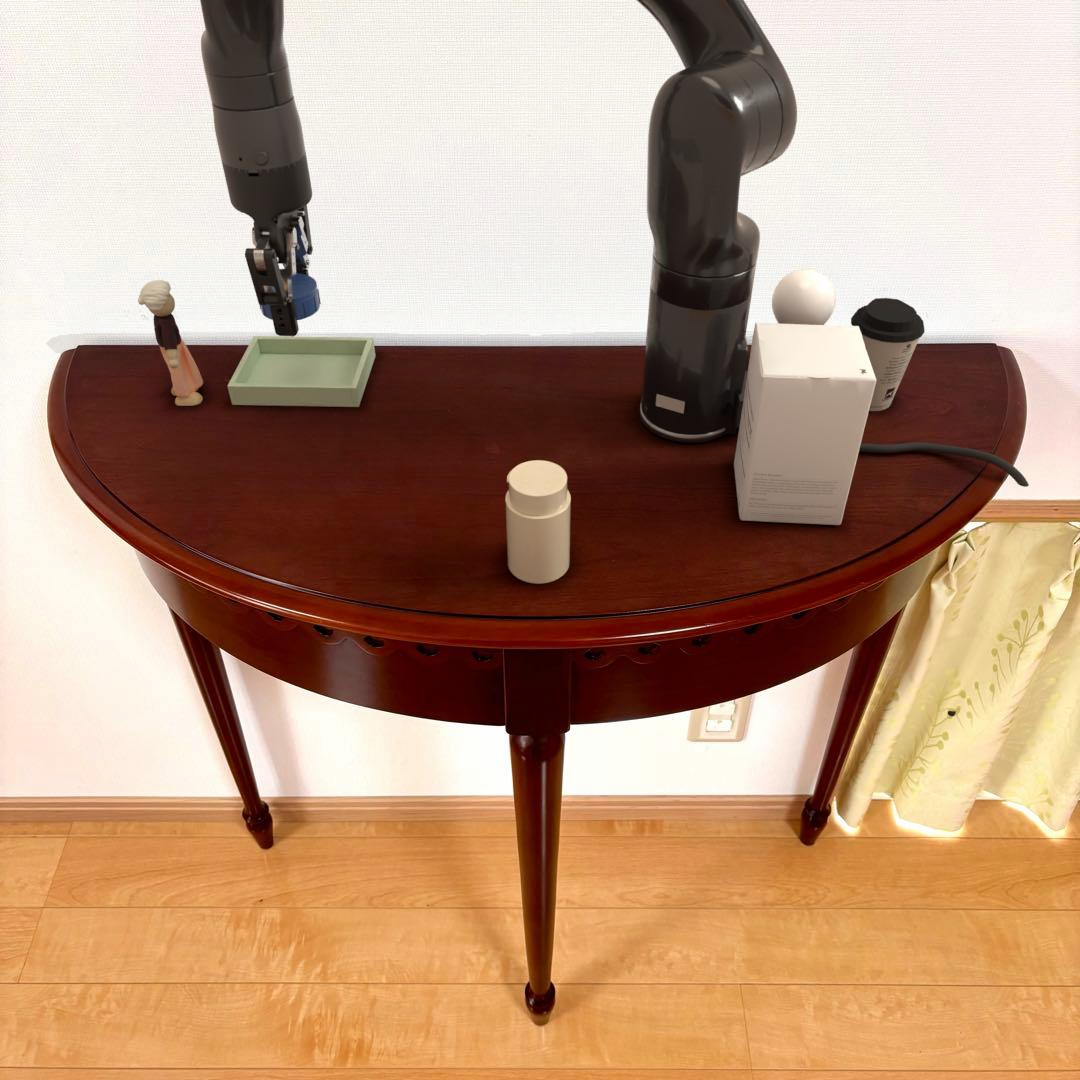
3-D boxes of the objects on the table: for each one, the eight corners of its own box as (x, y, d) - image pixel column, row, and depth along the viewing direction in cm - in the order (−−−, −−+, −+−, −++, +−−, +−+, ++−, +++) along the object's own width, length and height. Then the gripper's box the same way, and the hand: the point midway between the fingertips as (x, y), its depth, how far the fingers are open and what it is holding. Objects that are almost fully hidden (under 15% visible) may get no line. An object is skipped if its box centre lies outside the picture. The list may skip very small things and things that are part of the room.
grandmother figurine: (217, 403, 99) (186, 290, 91) (180, 415, 97) (146, 301, 89) (192, 371, 104) (160, 261, 95) (157, 382, 102) (121, 271, 94)
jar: (569, 542, 82) (571, 457, 76) (569, 584, 78) (571, 498, 73) (509, 541, 83) (506, 457, 77) (506, 583, 79) (502, 498, 73)
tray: (375, 356, 106) (373, 337, 105) (359, 407, 98) (356, 388, 97) (257, 354, 106) (253, 335, 105) (232, 405, 99) (227, 386, 97)
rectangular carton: (829, 466, 90) (863, 323, 80) (842, 527, 84) (881, 379, 74) (731, 461, 91) (753, 318, 81) (736, 521, 84) (761, 374, 74)
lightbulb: (749, 359, 105) (764, 265, 98) (798, 347, 107) (816, 254, 100) (782, 388, 101) (800, 291, 93) (832, 375, 102) (854, 279, 95)
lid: (254, 320, 95) (249, 298, 93) (270, 293, 99) (266, 271, 98) (312, 322, 95) (308, 300, 93) (325, 295, 99) (322, 273, 98)
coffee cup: (909, 419, 96) (936, 330, 89) (838, 416, 97) (859, 327, 90) (896, 382, 101) (920, 295, 95) (829, 379, 102) (848, 292, 95)
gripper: (243, 123, 92) (276, 285, 103) (197, 180, 82) (239, 354, 93) (321, 124, 92) (345, 286, 103) (284, 181, 81) (316, 356, 92)
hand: (295, 318), depth 98 cm, fingers closed on lid, 5 cm apart
